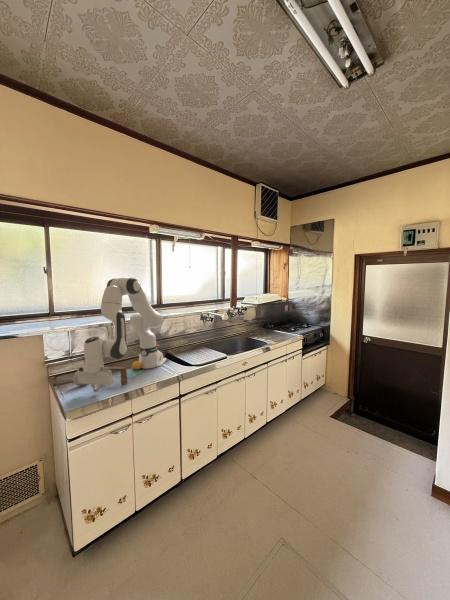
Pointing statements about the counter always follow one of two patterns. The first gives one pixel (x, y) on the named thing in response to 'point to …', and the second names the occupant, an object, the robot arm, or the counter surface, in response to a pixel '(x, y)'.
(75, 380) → the donut
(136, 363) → the ball
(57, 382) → the counter surface
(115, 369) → the bridge
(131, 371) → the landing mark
